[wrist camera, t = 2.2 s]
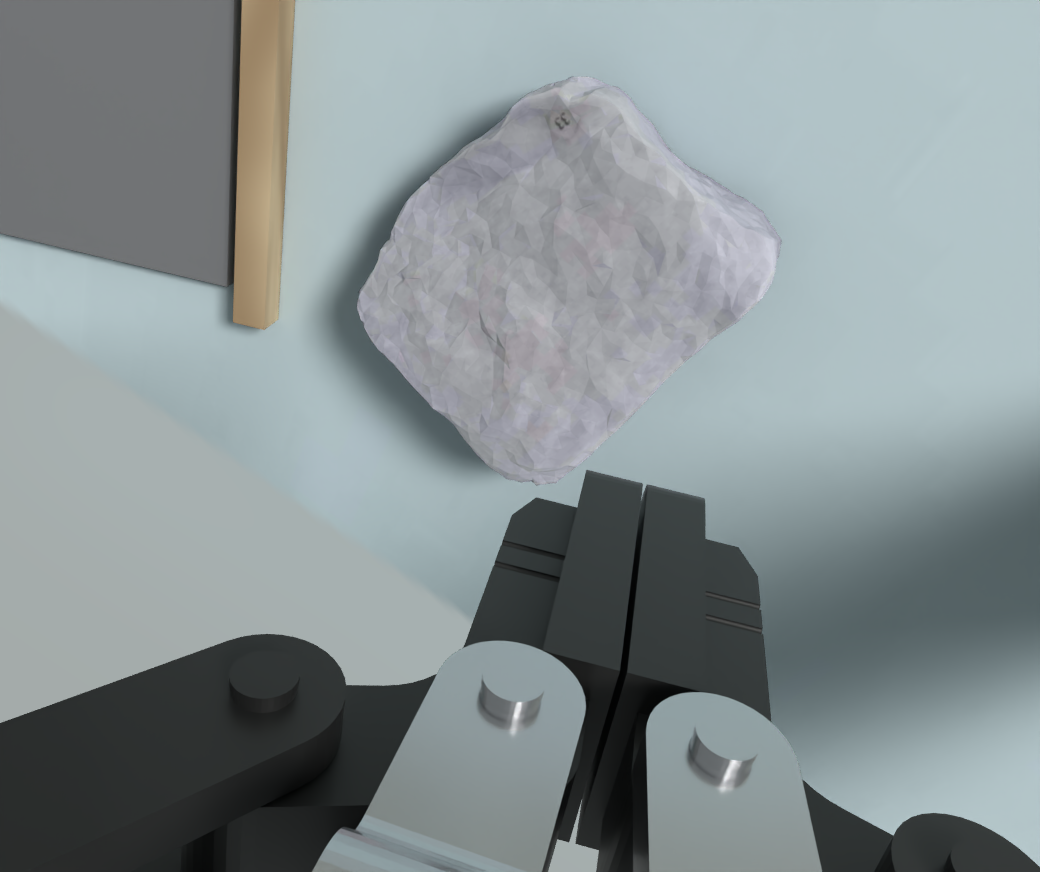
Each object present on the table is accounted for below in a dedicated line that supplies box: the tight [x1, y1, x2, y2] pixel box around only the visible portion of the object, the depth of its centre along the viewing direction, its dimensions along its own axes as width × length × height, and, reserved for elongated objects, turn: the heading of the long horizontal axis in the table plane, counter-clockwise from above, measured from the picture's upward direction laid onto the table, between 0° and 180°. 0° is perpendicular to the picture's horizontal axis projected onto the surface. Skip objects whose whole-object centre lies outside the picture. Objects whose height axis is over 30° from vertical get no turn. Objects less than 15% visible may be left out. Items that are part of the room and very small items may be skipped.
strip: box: [233, 0, 295, 330], centre depth 30 cm, size 1×14×1 cm, turn 170°
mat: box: [0, 0, 241, 287], centre depth 31 cm, size 11×12×1 cm
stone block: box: [357, 76, 782, 485], centre depth 29 cm, size 12×5×10 cm
